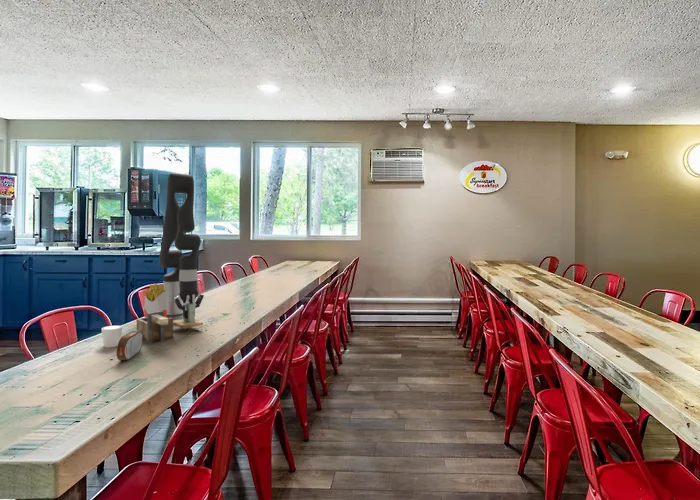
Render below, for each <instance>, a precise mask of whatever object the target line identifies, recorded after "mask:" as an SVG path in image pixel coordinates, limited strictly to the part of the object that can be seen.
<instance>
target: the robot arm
mask: <svg viewBox="0 0 700 500" xmlns="http://www.w3.org/2000/svg"><path fill="white" fill-rule="evenodd" d="M166 190H167V191H166V205H165V213H164V219H163V220H164V221H163V230H162V231H163V232H162V233H163V234H162V242H161V246H160V252H159V256H158V260H159V262H158V263H159V266H160V267H161V268H162V269H171V268H172V269H173V268H174V269H173V270H172V271H171V272H169V273H166V274H164V275H163V277H162V285H164V290H165V292H166V297H167V316H178V315H181V314H182V316H183V317H184V318H185V319H188V311H187V310H188V304H189V303H193V304H194V306H195V309H197V308H200V306H201V304H202V302H203V299H204V297H205V295H203V294H201V293H199V291H198V287H199V285H198V284H199V282H198V281H199V279H198V277H199V276H198V269H197V268H198V263H197V262H198V254H199V251H200V248H201V244H202V240H201V237H200V235H198V234H195V233H191V232H193V231H194V230H195V227H196V226H195V218H194V201H195V180H194V177H193V175H191V174H190V173H181V172H170V173H169V175H168V178H167V188H166ZM176 194H185V195H186V198H185V200H183V203H182V204H181V205H179V204H178V202H177V199H176V196H175V195H176ZM173 244H174V247H175V249H171V247H172V245H173ZM183 251H191V252H190V253H189V254H186V255H183ZM183 317H182V318H183Z"/></svg>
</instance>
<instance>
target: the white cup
mask: <svg viewBox="0 0 700 500" xmlns="http://www.w3.org/2000/svg"><path fill="white" fill-rule="evenodd" d="M122 330H123V326H122V325H118V324H117V325H116V324H115V325H108V326H103V327H101V335H102V336H101V337H102V344H103V347H104V348H115V346H116V347H117V345H118V342H119V340H120V339H121V337H122V334H123V331H122Z"/></svg>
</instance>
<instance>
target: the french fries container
mask: <svg viewBox="0 0 700 500" xmlns="http://www.w3.org/2000/svg"><path fill="white" fill-rule="evenodd" d="M143 306H144V318H146V317H147V313H152V312H158V311H164V317H166V318H168V315H167V297H166V292H165V290H164V285H163V284H157V283H154V284H149V288H148V290H144V305H143ZM158 315H159V314H158Z"/></svg>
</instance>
